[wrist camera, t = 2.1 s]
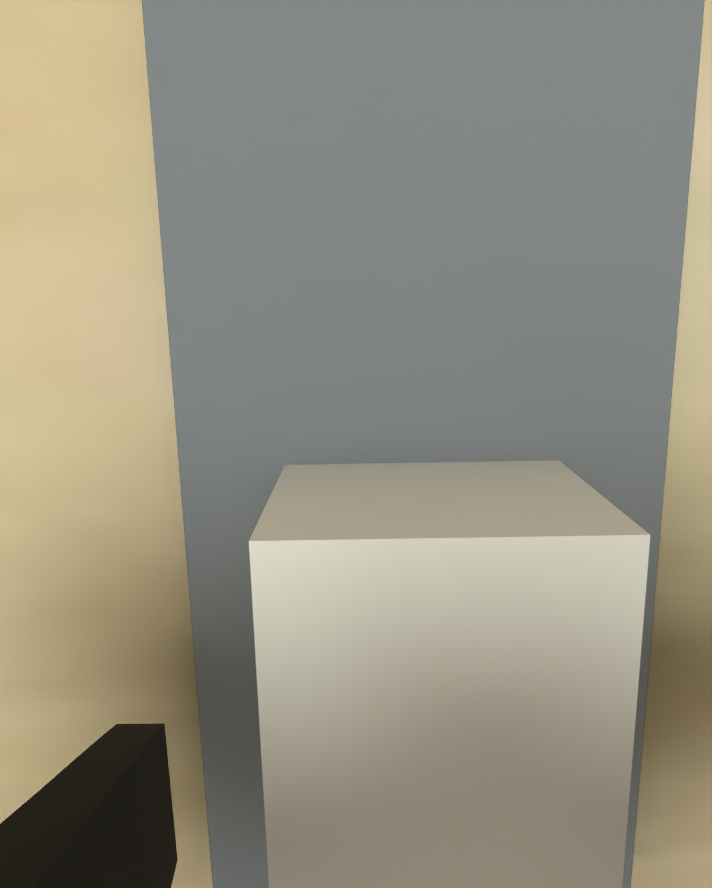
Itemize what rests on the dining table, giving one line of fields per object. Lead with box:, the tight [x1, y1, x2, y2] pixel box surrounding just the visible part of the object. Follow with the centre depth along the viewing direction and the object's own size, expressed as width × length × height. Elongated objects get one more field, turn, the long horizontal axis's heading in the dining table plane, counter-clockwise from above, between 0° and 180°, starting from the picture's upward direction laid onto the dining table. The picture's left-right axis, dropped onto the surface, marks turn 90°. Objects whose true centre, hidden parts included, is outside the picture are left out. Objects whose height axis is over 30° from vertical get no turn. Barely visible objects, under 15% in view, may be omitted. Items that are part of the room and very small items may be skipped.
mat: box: [142, 0, 705, 888], centre depth 11 cm, size 18×8×1 cm, turn 1°
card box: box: [249, 460, 650, 888], centre depth 10 cm, size 7×4×4 cm, turn 1°
